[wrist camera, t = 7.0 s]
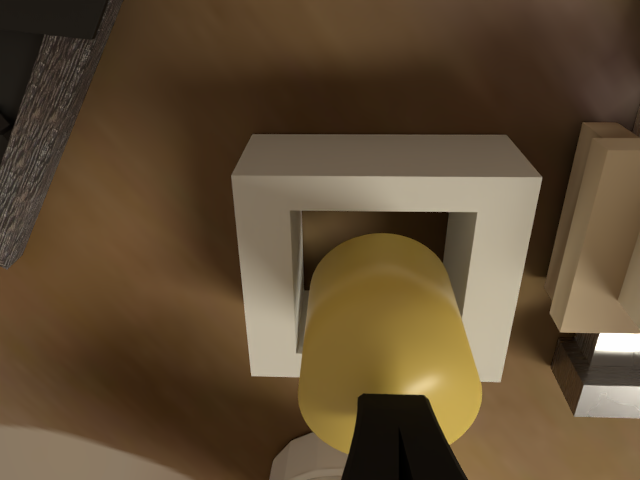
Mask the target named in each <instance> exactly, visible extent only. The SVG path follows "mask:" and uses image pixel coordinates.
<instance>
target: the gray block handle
mask: <svg viewBox="0 0 640 480" xmlns="http://www.w3.org/2000/svg"><path fill="white" fill-rule="evenodd" d="M632 133H634V134H635V135H637V136H638V137H640V106H639V110H638V113H637V117H636V121H635V124H634V128H633V131H632ZM551 370H552V372H553V374H554V376H555V378H556V380H557V382H558V384H559V386H560V388H561V390H562V392H563V395H564V397H565V399H566V401H567V403H568V405H569V407H570V409H571V411H572V413H573V415H574V417H611V418H640V334H613V333H576V334H575V338H558V341H557V345H556V349H555V352H554V356H553V360H552V364H551Z"/></svg>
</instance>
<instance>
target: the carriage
mask: <svg viewBox="0 0 640 480" xmlns="http://www.w3.org/2000/svg"><path fill="white" fill-rule="evenodd" d="M544 289H545V290H546V292H547V294H548V296H549V297H550V299H551V301H552V305H551V309H550V315H551V317H552V319H553V320H554V322H555V324H556V326H557V328H558V330H559V331H560V332H563V333H613V334H640V137H638V136H637V135H635V134H634V133H632V132H631V131H629V130H628V129H626V128H624V127H623V126H621V125H620V124H618V123H617V122H582V127H581V131H580V135H579V140H578V144H577V148H576V153H575V157H574V161H573V166H572V170H571V174H570V178H569V183H568V187H567V191H566V196H565V200H564V204H563V209H562V213H561V217H560V222H559V226H558V230H557V234H556V239H555V243H554V247H553V252H552V256H551V260H550V265H549V269H548V273H547V278H546V282H545V286H544Z"/></svg>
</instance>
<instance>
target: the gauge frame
mask: <svg viewBox="0 0 640 480" xmlns="http://www.w3.org/2000/svg"><path fill="white" fill-rule="evenodd" d="M231 180H232V190H233V200H234V210H235V220H236V230H237V239H238V249H239V259H240V269H241V279H242V289H243V299H244V309H245V319H246V329H247V339H248V348H249V358H250V368H251V376H269V377H300V369H301V360H302V351H303V342H304V334H305V325H306V316H307V307H308V299H309V291H308V290H304V268H303V237H302V211H400V212H449V216H448V224H447V233H446V241H445V250H444V258H443V265H444V266H445V268H446V271H447V273H448V276H449V279H450V282H451V286H452V289H453V292H454V295H455V299H456V302H457V305H458V309H459V312H460V315H461V319H462V322H463V325H464V328H465V332H466V335H467V338H468V342H469V345H470V348H471V351H472V355H473V358H474V361H475V365H476V368H477V371H478V374H479V378H480V382H501V377H502V372H503V367H504V362H505V357H506V353H507V348H508V343H509V338H510V333H511V328H512V323H513V318H514V314H515V309H516V304H517V299H518V294H519V289H520V284H521V279H522V275H523V270H524V265H525V260H526V255H527V250H528V245H529V240H530V236H531V231H532V226H533V221H534V216H535V211H536V206H537V202H538V197H539V192H540V187H541V182H542V176H541V175H540V174H539V173H538V172H537V170H536V169H535V168H534V167H533V166H532V164H531V163H530V162H529V161H528V160H527V158H526V157H525V156H524V155H523V154H522V153H521V151H520V150H519V149H518V148H517V147H516V145H515V144H514V143H513V142H512V141H511V139H510V138H509V137H508V136H507V135H407V134H252V136H251V138H250V140H249V142H248V144H247V145H246V147H245V149H244V151H243V153H242V155H241V157H240V159H239V161H238V163H237V165H236V167H235V169H234V171H233V173H232V175H231Z"/></svg>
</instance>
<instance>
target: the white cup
mask: <svg viewBox="0 0 640 480" xmlns="http://www.w3.org/2000/svg"><path fill="white" fill-rule="evenodd" d="M347 458H348V454H346V453H343V452H341V451H339V450H337V449H335V448H333V447H331V446H330V445H328V444H327V443H325V442H324V441H322V440H321V439H320V438H319V437H318V436H317V435H316V434H315V433H314V432H312V433H309V434H307V435H304V436H301V437H299V438H296V439H294V440H292V441H290V442H289V443H288V444H287V446H286V447H285V448H284V449H283V450H282V451H281V452H280V453H279V454H278V455H277V456H276V457H275V458H274V460H273V463H272V468H271V473H270V478H269V480H341V478H342V474H343V471H344V468H345V464H346V461H347Z"/></svg>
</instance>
